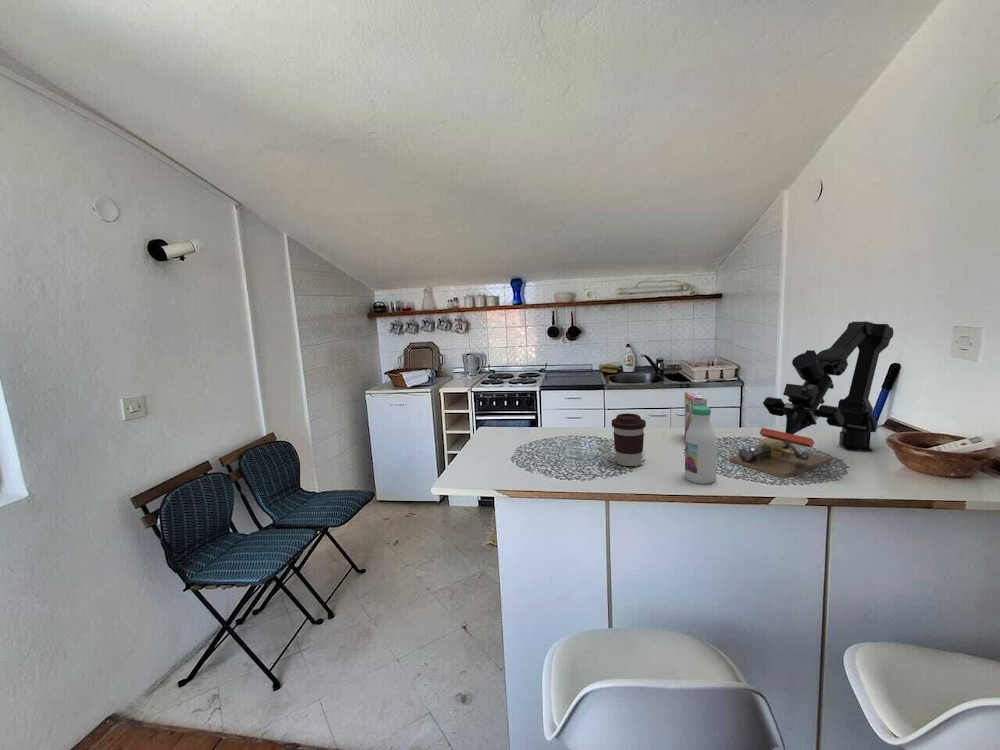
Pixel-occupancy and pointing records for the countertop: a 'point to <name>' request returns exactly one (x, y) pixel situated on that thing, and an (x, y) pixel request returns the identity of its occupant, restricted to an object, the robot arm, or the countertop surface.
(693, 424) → the milk bottle
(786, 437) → the valve lever
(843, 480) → the countertop surface
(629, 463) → the coffee cup
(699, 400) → the candy bar box
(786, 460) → the valve on board
